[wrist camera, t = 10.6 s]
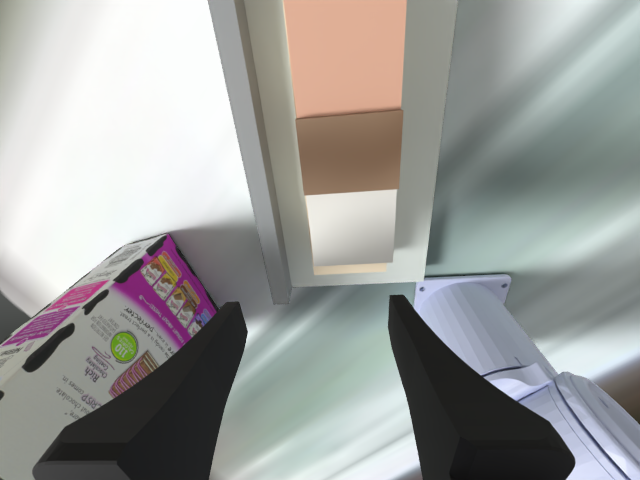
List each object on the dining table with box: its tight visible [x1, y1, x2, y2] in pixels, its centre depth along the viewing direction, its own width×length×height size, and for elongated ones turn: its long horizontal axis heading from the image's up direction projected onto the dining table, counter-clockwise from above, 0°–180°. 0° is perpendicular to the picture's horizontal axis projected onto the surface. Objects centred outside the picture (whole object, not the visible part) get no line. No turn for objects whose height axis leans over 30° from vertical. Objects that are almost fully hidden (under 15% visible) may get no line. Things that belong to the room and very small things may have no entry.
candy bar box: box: [0, 233, 218, 480], centre depth 19 cm, size 11×5×16 cm, turn 18°
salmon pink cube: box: [284, 0, 407, 118], centre depth 11 cm, size 4×4×4 cm
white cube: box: [306, 189, 397, 267], centre depth 15 cm, size 4×4×4 cm
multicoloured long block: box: [282, 0, 404, 275], centre depth 14 cm, size 18×5×7 cm, turn 5°
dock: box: [208, 0, 458, 304], centre depth 17 cm, size 24×12×4 cm, turn 5°
